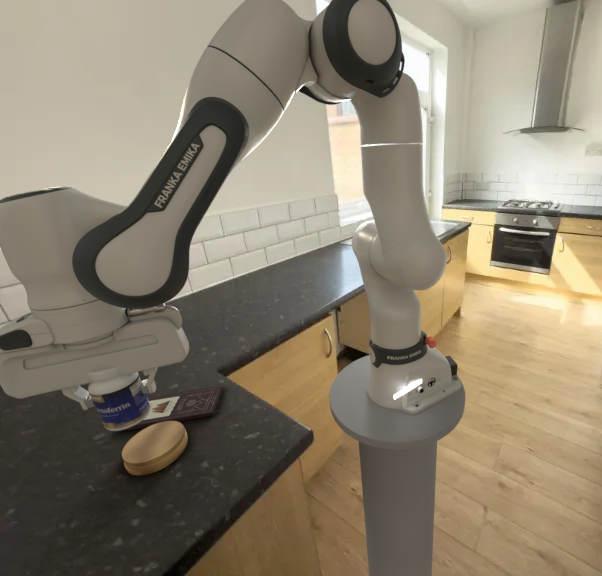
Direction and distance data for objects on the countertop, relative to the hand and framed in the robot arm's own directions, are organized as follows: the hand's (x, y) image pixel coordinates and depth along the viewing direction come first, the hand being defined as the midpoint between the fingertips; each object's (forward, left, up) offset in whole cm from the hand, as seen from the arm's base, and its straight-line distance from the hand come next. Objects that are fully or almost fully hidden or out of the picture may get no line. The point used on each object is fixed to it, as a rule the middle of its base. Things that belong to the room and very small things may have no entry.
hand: (121, 398), depth 47 cm
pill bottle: (0, 0, -4) cm, 4 cm away
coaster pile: (+2, -8, -19) cm, 21 cm away
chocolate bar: (+1, -20, -19) cm, 28 cm away
